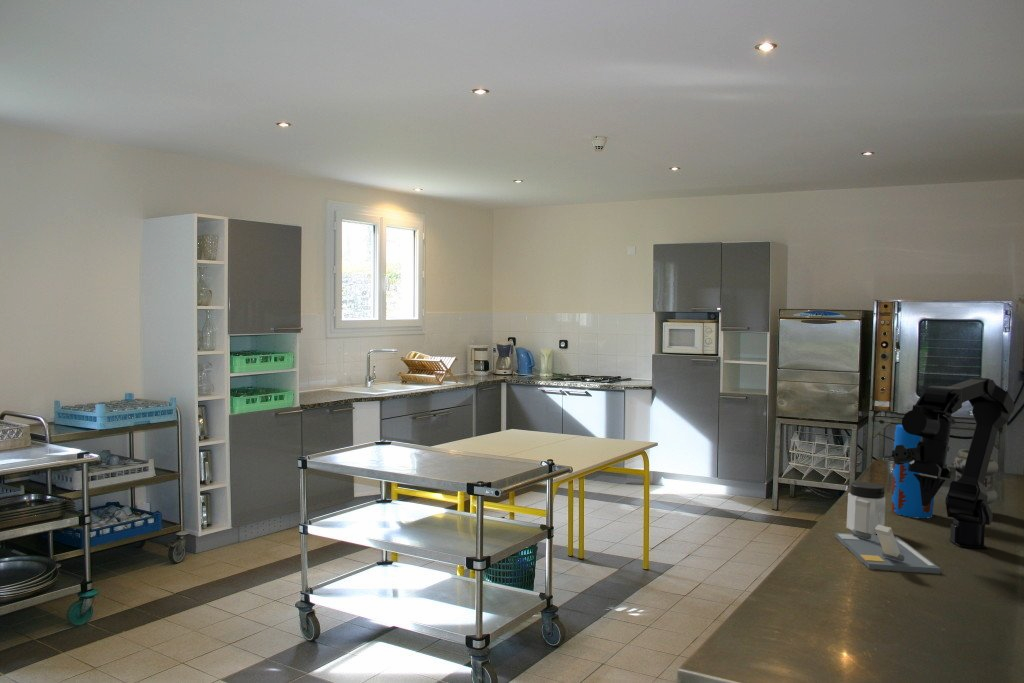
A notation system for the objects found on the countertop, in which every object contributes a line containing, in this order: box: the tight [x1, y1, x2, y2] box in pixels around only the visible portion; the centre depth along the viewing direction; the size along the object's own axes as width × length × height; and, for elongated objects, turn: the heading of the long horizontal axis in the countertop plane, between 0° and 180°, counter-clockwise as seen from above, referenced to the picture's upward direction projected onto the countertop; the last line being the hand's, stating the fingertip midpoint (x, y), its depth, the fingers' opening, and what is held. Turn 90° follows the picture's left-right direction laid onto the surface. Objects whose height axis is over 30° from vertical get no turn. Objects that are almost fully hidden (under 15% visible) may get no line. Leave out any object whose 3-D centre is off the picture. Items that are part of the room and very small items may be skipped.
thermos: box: [891, 424, 935, 519], centre depth 225 cm, size 11×11×25 cm
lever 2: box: [875, 525, 904, 562], centre depth 176 cm, size 2×4×9 cm
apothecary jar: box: [951, 448, 999, 505], centre depth 229 cm, size 12×12×18 cm
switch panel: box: [834, 532, 941, 575], centre depth 185 cm, size 15×25×1 cm, turn 174°
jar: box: [846, 481, 887, 535], centre depth 206 cm, size 9×8×12 cm
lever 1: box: [851, 499, 871, 539], centre depth 194 cm, size 2×4×9 cm, turn 34°
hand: (924, 506), depth 184 cm, fingers closed
